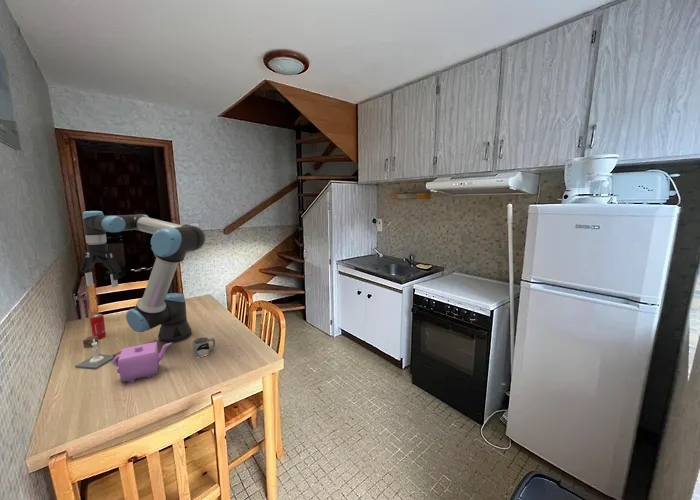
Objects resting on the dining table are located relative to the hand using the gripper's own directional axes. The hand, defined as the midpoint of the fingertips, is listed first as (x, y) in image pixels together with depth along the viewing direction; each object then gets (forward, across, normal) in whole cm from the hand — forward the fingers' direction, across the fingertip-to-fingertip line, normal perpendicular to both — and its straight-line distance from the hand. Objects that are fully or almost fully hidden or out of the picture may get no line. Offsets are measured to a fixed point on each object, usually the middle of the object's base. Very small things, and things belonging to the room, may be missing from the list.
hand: (102, 285), depth 144 cm
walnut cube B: (+29, -23, +17) cm, 41 cm away
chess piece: (+28, -13, +19) cm, 36 cm away
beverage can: (+29, +8, -2) cm, 30 cm away
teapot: (+29, -41, +24) cm, 56 cm away
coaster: (+29, -13, +19) cm, 37 cm away
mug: (+29, -55, +5) cm, 62 cm away
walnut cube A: (+29, +4, +6) cm, 30 cm away
